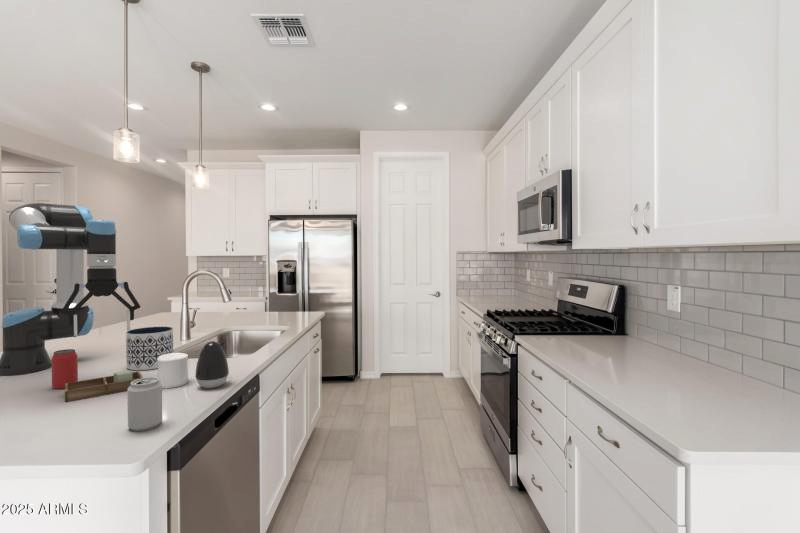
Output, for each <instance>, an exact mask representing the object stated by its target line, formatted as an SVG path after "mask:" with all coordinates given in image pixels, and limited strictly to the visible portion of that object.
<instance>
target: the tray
mask: <svg viewBox="0 0 800 533" xmlns="http://www.w3.org/2000/svg"><path fill="white" fill-rule="evenodd" d="M132 372H133V371H132ZM141 378H144V377H143V375H142V373H141V372H140V371H134V372H133V380H128V381H122V382H116V383H114V375H107V376H104V377H95V378H90V379H83V380H78V381H77V382H70V383H65V388H64V398H65V399H64V401H65V403H68V402H69V401H70V402H73V401H74V402H75V401H79V400H80V401H81V400H86V399H91V398H95V397H96V398H97V397H100V396H101V397H102V396H106V395H112V394H117V393H118V394H119V393H123V392H127V390H128V388H129V387H130V386H131V384H130V383H131V382H132V381H134V380H137V379H141Z"/></svg>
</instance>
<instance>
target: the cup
mask: <svg viewBox="0 0 800 533" xmlns="http://www.w3.org/2000/svg"><path fill="white" fill-rule="evenodd" d="M188 358H189V355H188V354H187V353H183V352H173V353H169V354H164V355H161V356H159V357H158V359H157V361H158V369H157V373H156V374H157V376H156V378H159V382H161V383H162V389H174V388H179V387H182V386H185V385H187V383H188V380H189V369H188Z"/></svg>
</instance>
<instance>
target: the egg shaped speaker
mask: <svg viewBox="0 0 800 533" xmlns="http://www.w3.org/2000/svg"><path fill="white" fill-rule="evenodd" d="M225 345H226V341H225V340H223V341H221V342H217V341H214V340H213V341H208V342H207V343H205V344H204V345H203V347H202V349H201V351H200V353H199V355H198V359H197V361H196V362H197V363H196V367H195V375H194V376H195V379H196V382H197V384H198V385H199V386H200V387H201V388H204V389H216V388H218V387H221V386H222V385H223V384H225V382H227V379H228V376H229V374H230V371H229V363H228V358H227V357H226V353H225V351H224V349H223V346H225Z"/></svg>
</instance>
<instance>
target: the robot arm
mask: <svg viewBox="0 0 800 533" xmlns="http://www.w3.org/2000/svg"><path fill="white" fill-rule="evenodd" d="M8 221H9V223H10V226H12V229H14V230H16V241H17V242H16V243H17V247H18V248H20V249H23V250H25V249H26V250H35V251H36V250H56V255H55V257H56V260H55V263H56V270H55V271H56V272H55V273H56V275H55V278H56V279H55V280H56V281H55V282H56V284H55V285H56V288H55V289H56V290H55V291H56V293H55V295H56V298H55V300H56V301H55V302H54V303H52V305H51V308H50V310H45V308H44V307H33V308H26V309H25V308H24V309H19V310H15V311H12V312H7V313H5V314H4V315H3V316H2V319H1V320H2V323H1V329H2V354H1V356H0V376H17V375H18V376H19V375H24V374H30V373H36V372H40V371H43V370H47V369H49V368H52V359H51V357H50V355H49V354H48V351H47V349H46V347H45V345H46V344H45V342H46V341H51V340H58V339H66V338H77V337H82V336H87V335H88V334H89V333H90V332H91V330H92V328H93V325H94V317H95V316H94V309H93V308H92V307H90V306H89V303H88V301H89V300H90V298H92V297H93V296H94V297H97V298H99V297H110V296H111V295H112V296H113V297H114V298H116V299H117V300H118V301H119V302H120V303H121V304H122V305H123V306H125V307H126V308H127V310H126V332H127V331H130V330H131V321H134V320H135V310H138V309H140V308H141V304H140V303H139V301H138V300H137V299H136V297H135V295H134V294H133V292H132V290H131V289H130V287H129V282H128V281H124V282H123V281H122V282H118V281H117V269H116V268H115V267H116V266H117V242H116V241H117V238H116V237H117V236H116V233H117V229H116V223H115V222H114V221H113V220H109V219H94V218H93V214H92V212H91V210H90V209H89V208H87V207H85V206H81V205H69V204H57V203H45V202H44V203H43V202H34V203H26V204H24V205H20V206H17V207H15V208H14V209H13V210H12V211H11V212H10V214H9V216H8ZM85 251H86V267H88V268H87V270H86V278H87V279H86V280H87V281H86V283H85V280H84V279H85ZM118 287H120V288H121V289H122V290H123V289H124V292H126V294H127V297H129V299H130V301H131V302H132V303H133V305H131V304H130V303H129V302H128V301H127V300H125V298H123V297H122V296H121V295H120V294H118V292H116V290H117V288H118ZM84 289H86V290H87V291H89V292H88V293H86V295H84V294H85V293H84V291H85V290H84Z"/></svg>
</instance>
